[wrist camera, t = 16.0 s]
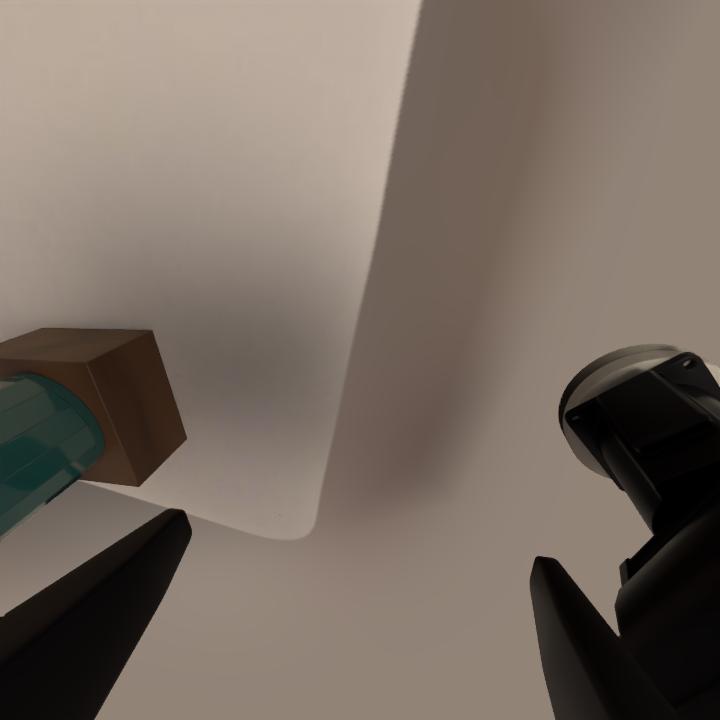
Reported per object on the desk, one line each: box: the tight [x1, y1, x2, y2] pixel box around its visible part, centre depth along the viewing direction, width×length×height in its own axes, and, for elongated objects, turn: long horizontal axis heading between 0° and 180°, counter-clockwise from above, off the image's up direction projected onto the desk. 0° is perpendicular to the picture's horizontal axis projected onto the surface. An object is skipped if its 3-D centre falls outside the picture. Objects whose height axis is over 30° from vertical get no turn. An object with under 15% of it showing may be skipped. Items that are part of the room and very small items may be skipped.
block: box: [0, 328, 187, 487], centre depth 24 cm, size 9×9×5 cm
